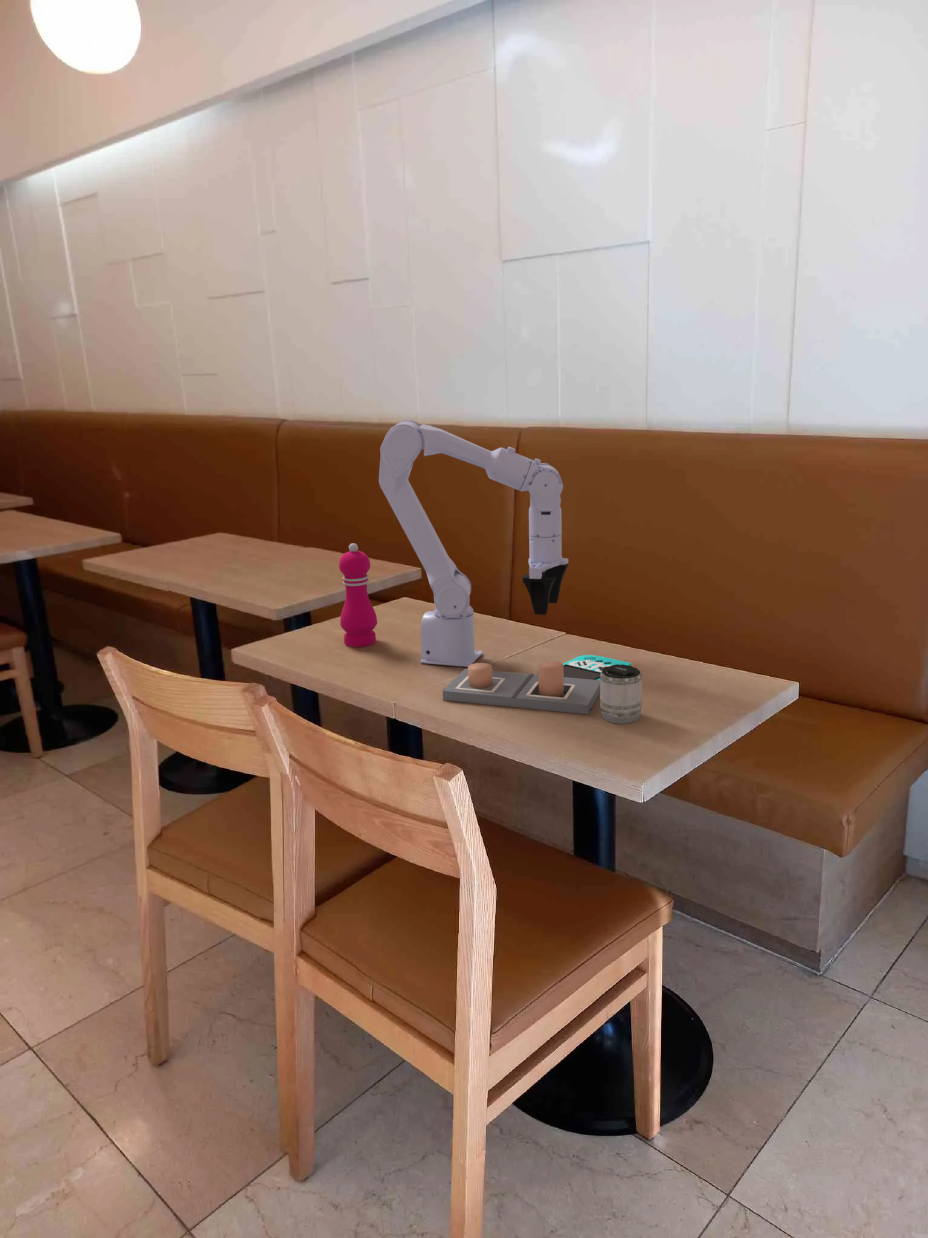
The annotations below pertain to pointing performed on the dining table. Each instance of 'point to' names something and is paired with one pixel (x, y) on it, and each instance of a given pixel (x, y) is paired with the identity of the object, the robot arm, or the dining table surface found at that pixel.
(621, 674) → the camera lens
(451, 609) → the robot arm
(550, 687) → the terracotta pin
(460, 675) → the board
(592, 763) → the dining table surface
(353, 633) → the pepper mill
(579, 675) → the handheld game console
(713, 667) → the dining table surface
